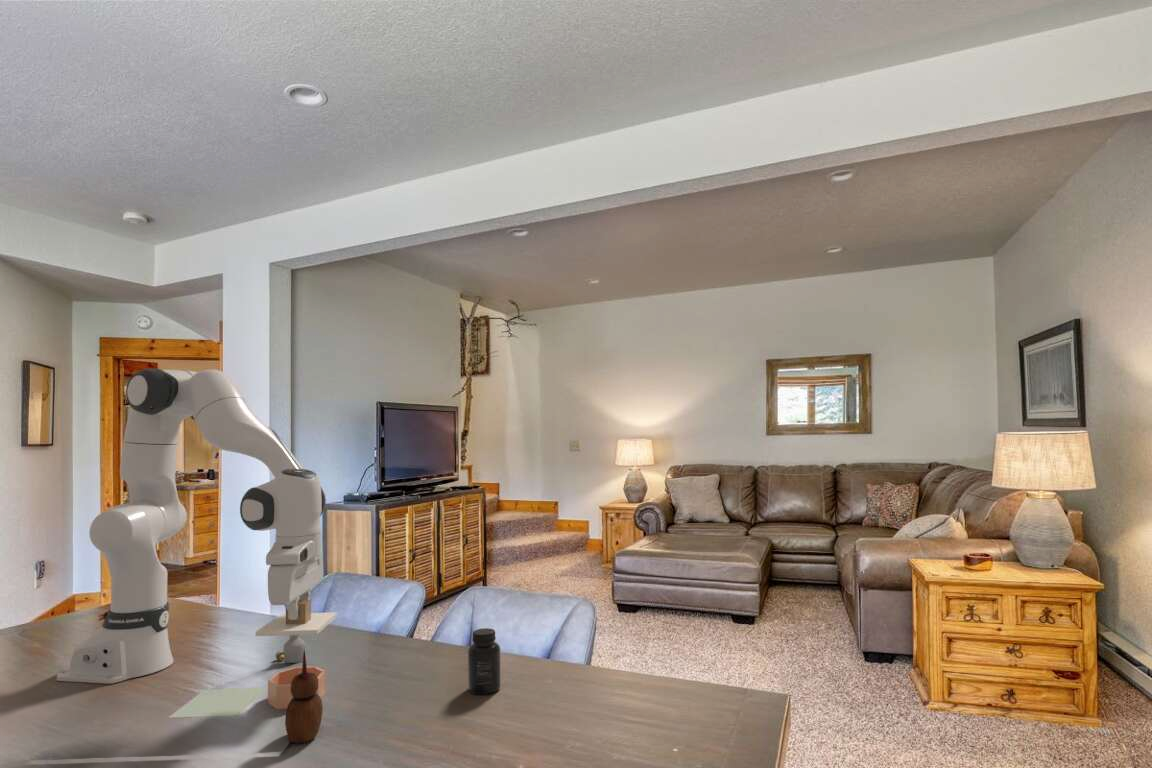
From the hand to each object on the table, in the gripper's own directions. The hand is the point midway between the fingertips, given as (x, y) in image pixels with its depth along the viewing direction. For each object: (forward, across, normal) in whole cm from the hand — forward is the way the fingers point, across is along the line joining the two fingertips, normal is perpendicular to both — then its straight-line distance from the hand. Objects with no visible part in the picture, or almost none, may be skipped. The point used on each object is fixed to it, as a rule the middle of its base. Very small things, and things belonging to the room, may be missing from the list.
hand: (298, 615), depth 133 cm
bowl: (+17, 0, 0) cm, 17 cm away
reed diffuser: (+17, -21, -10) cm, 29 cm away
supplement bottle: (+18, -3, +38) cm, 42 cm away
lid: (+2, 0, 0) cm, 2 cm away
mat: (+17, +1, -15) cm, 23 cm away
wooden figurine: (+17, +16, +7) cm, 25 cm away
